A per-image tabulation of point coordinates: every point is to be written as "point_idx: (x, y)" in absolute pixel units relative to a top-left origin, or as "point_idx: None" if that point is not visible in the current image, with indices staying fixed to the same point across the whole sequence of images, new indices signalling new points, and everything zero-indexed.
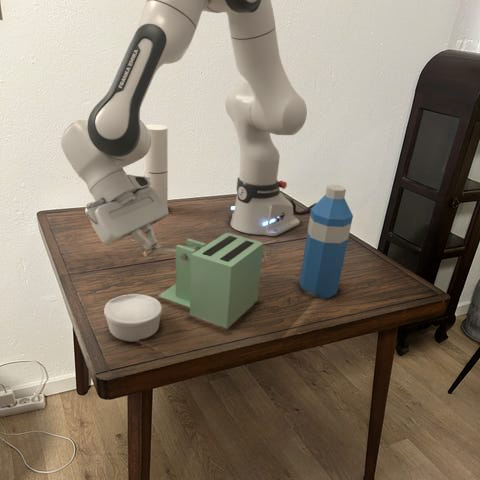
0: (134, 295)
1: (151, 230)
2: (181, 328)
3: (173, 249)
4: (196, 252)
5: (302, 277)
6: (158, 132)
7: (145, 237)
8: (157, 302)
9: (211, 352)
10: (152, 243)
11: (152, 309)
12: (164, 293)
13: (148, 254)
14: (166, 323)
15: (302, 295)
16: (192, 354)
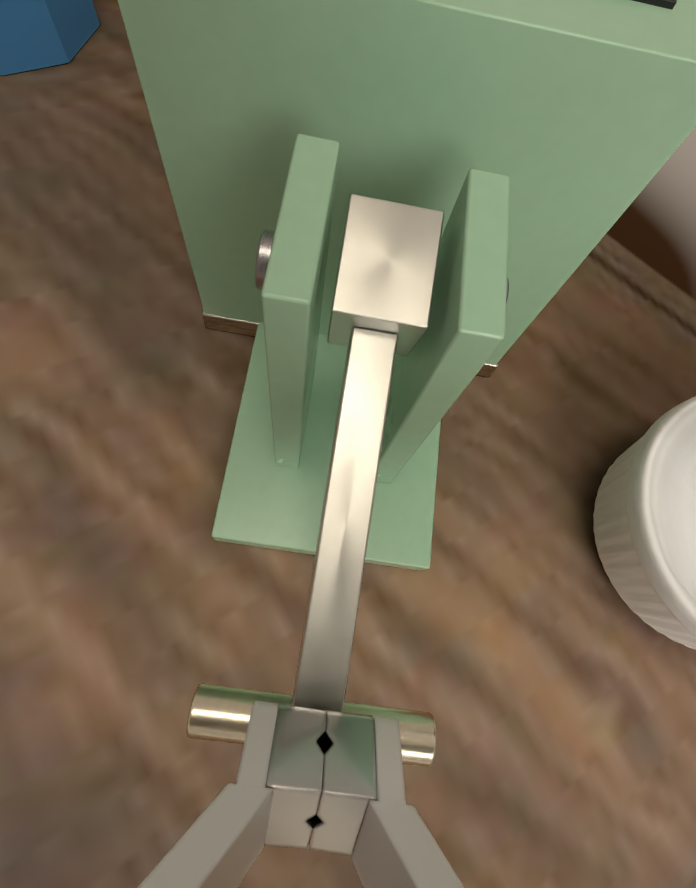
0: (684, 589)
1: (198, 873)
2: (560, 379)
3: (358, 459)
4: (683, 48)
5: (12, 4)
6: None
7: (389, 836)
8: (667, 438)
9: (618, 245)
10: (340, 725)
11: None
12: (394, 547)
13: (405, 709)
14: (565, 445)
15: (96, 60)
16: (663, 291)
